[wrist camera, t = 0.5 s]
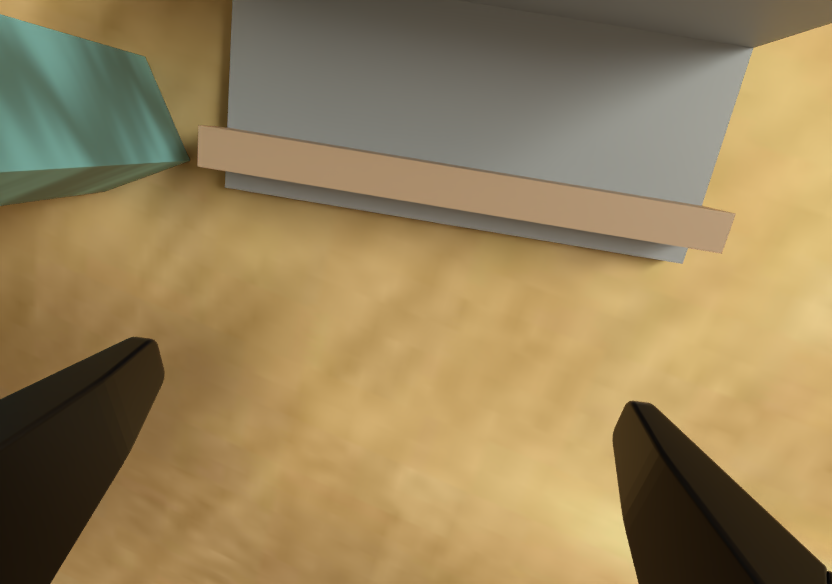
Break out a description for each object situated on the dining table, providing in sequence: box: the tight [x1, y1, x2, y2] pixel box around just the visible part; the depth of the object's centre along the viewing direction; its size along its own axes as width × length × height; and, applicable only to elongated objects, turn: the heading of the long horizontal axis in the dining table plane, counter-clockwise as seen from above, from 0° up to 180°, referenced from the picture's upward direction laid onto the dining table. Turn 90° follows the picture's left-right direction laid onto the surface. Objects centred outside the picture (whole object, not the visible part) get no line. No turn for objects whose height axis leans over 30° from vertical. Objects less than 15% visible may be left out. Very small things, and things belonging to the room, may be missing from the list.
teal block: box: [0, 14, 190, 206], centre depth 16 cm, size 4×4×12 cm
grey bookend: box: [197, 0, 832, 264], centre depth 16 cm, size 11×20×10 cm, turn 81°
